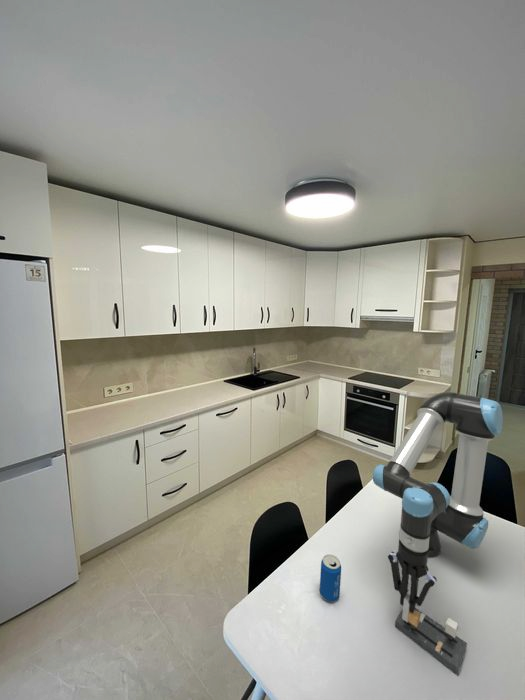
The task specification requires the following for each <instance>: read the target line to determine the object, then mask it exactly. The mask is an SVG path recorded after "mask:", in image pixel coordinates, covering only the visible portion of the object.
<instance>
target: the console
mask: <svg viewBox="0 0 525 700" xmlns="http://www.w3.org/2000/svg"><path fill="white" fill-rule="evenodd" d="M415 610H416V611H417V612H419V613H420V622H419V624H418V626H417V627H415V629H413V628H411V623H410V622H409V621H408V622H406V621H405V620H403V619H402V614H403V608H402V609H401V611H400V612H399V614H398V615H397V618H396V619H395V621H394V622H395V623H394V628H396V629H397V630H398V631H399V632H401V633H402V634H404V635H405V636H406V637H407V638H409V639H410V640H411V641H412V642H414V643H415V644H417V646H419V647H420V648H421V649H423V650H424V651H426V652H427V653H428V654H429V655H430V656H432V657H433V658H434V659H435V660H437V661H438V662H439V663H440V664H442V665H443V666H444V667H446V668H447V669H449V671H451V672H453V673H454V674H455V675H456V676H459V672H460V670H461V667H462V663H463V660H464V657H465V653H466V651H467V646H468V645H467V642H466V641H465V640H463V639H462V638H460V637H459V636H458V635H456V636H455V638H454V637H453V639H452V640H451V639H449V638H448V633H447V632H445V627H444V626H443V625H442V624H440V623H439V622H437V621H436V620H434V619H433V618H431V617H430V616H429V615H427V614H425V613H424V612H423V611H422V610H420V609H419V608H417V607H415Z"/></svg>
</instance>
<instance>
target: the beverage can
mask: <svg viewBox="0 0 525 700" xmlns="http://www.w3.org/2000/svg"><path fill="white" fill-rule="evenodd" d="M322 557H323V558H322V559H321V561H320V579H319V594H320V595H321V597H322V599H324V600H325V601H327V602H330V603H334V602H337V601H338V600H339V599H340V594H341V593H340V591H341V579H342V577H341V576H342V564H341V561H340V559H339V558H338V557H337V556H336V555H334V554H330V553H329V554H326V555H323V556H322Z"/></svg>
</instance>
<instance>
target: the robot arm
mask: <svg viewBox="0 0 525 700" xmlns="http://www.w3.org/2000/svg"><path fill="white" fill-rule="evenodd" d="M416 415H417V416H416V419H414V421H413V423H412V425H411V426H410V428H409V429H408V431H407V433H406V434H405V436H404V437H403V439H402V441H401V442H400V443H399V446H398V447H397V449H396V451H395V452H394V453H393V455H392V457H391V458H390V460H389V461H388V463H387V464H386V465H385V464H378V465H376V466H375V468H374V469H373V472H372V481H373V483H374V485H375V486H376V487H378V488H380V489H382V490H384V492H388V493H390V494H392V495H394V496H396V497H398V498H400V499H401V515H400V525H399V536H398V537H399V539H398V549H397V552H394V551H391V552H390V553H389V554H388V556H387V558H388V561H389V563H390V568H391V574H392V581H393V587H394V590H395V591H396V592H399V594H400V600H399V603H400V605H401V606H402V609H403V614H402V619H403V620H405V621H406V622H408V613H409V611H410V612H412V613H413V612H414V610H415V607H416V606H418V607H421V606H422V604H423V603H424V601H425V598H426V596H427V595H428V592H429V590H430V589H431V588H432V587H434V586H435V584H436V582H437V580H438V579H437V577H436V576H434V575H431V573H430V572H429V567H428V560H429V559H428V558H434V557H437V556H439V555H440V553H441V550H442V549H441V548H442V544H441V539H440V537H439V532H440V533H442V534H444V535H445V536H447V537H449V538H451V539H452V540H454V541H456V542H458V543H460V544H461V545H464V546H465V547H468V548H470V549H473V550H475V549H478V548H479V547H480V545H481V544H482V543H483V540H484V538H485V536H486V533H487V532H488V531H487V530H488V528H489V520H488V519H487V518H486V517H484V510H483V508H482V507H481V506H480V502H481V494H482V487H483V481H484V474H485V466H486V458H487V453H488V445H489V442H490V441H492V440H495V437H496V436H499V435H501V433H502V430H503V425H504V415H503V410H502V407H501V404H500V403H499V402H498V401H495V400H492V399H488V398H485V397H479V396H473V395H468V394H463V393H457V392H454V391H453V392H452V391H450V392H449V391H446V392H445V391H444V392H441V393H438V394H435V395H433V396H431V397H429V398H428V399H426V400H425V401H424V402H423V403H421V405H420V406H419V407H418V409H417V411H416ZM445 423H451V424H454V425H455V429H454V430H455V431H456V433H457V434H458V435H459V436H458V445H457V452H456V458H455V464H454V465H455V466H454V471H453V472H454V474H453V480H452V485H451V487H452V488H451V494H450V493H449V491H448V490H447V488H445V486H443V485H442V484H441V483H439V482H429V483H427V484H426V483H425V482H422V481H420V480H419V479H416V478H414V477H411V474H412V473H413V471H414V469H415V467H416V466H417V464H418V462H419V461H420V458H421V456H423V453H424V452H425V450H426V449H427V446H428V445H429V443H430V441H431V440H432V438H433V437H434V434H435V433H436V431H437V429H438V428H441V427H442V426H444V424H445ZM400 567H401V571H400ZM424 576H425V578H424V582H425V583H424V585H423V587H422V588H421V591H420V594H419V595H418V590H419V580H420V578H422V577H424ZM409 583H410V590H409ZM408 592H409V593H408ZM416 608H417V607H416Z"/></svg>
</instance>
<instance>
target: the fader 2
mask: <svg viewBox="0 0 525 700" xmlns="http://www.w3.org/2000/svg"><path fill="white" fill-rule="evenodd" d="M444 628H445V632H447V633H448V638H449V639H451V640H452V639H453V637H454V638H455V636H457V633H458V628H459V624H458V623H457V622H456V621H455V620H453V619H452V618H450V617H449V616H448V618H447V620H446V621H445V627H444Z"/></svg>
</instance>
